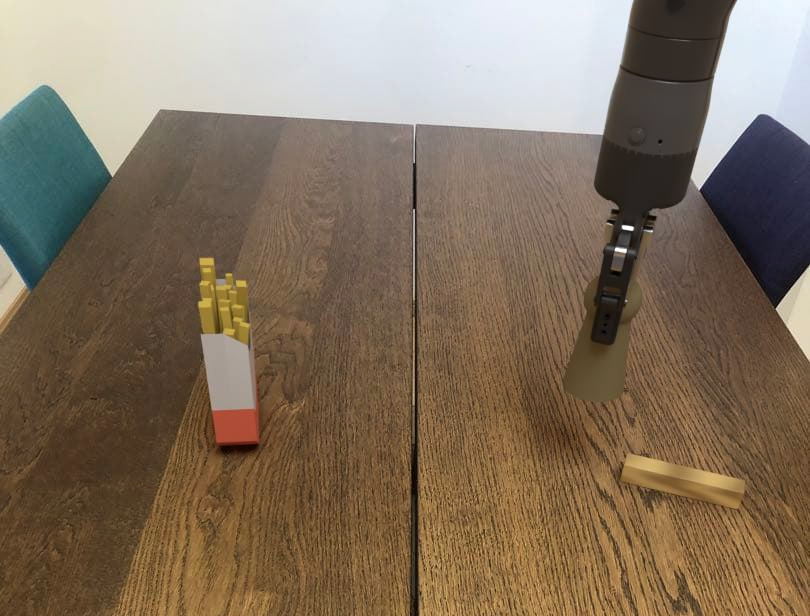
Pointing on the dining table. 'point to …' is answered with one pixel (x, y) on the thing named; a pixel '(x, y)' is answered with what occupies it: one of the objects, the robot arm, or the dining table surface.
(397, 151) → the dining table surface
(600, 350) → the olive pawn
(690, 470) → the golden stick
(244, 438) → the french fries container
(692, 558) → the dining table surface
